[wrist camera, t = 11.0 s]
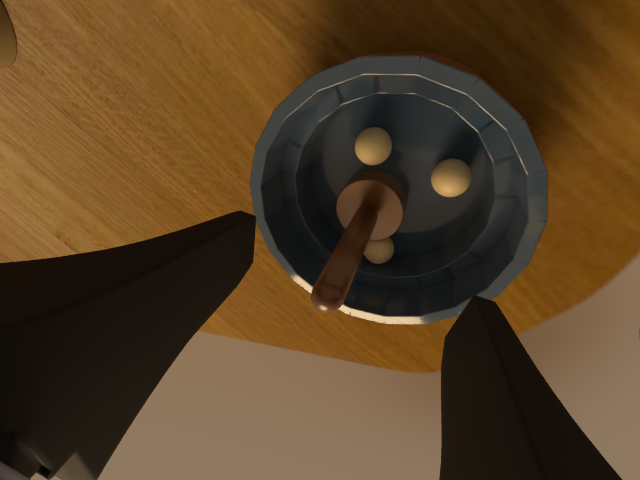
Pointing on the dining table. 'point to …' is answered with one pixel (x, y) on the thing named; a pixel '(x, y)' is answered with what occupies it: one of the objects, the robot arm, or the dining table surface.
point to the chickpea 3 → (451, 177)
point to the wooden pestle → (359, 231)
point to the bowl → (403, 183)
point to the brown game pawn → (6, 39)
